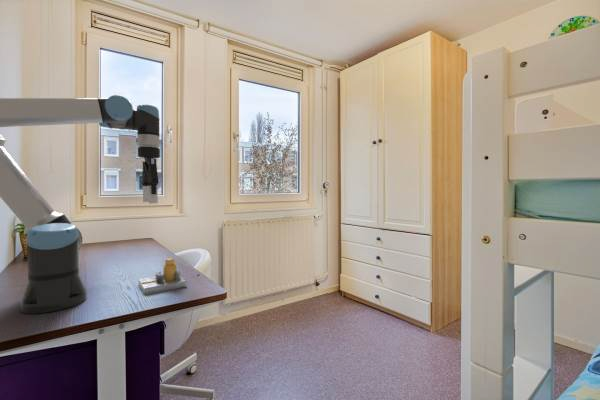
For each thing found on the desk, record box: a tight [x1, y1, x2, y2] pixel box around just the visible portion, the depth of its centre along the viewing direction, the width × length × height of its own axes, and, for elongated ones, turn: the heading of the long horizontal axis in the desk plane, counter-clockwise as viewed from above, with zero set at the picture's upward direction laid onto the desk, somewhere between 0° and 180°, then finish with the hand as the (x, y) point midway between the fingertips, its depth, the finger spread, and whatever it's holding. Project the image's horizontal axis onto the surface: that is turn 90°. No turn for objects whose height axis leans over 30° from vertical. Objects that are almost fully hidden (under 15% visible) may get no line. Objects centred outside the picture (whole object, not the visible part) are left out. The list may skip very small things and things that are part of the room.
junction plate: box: [138, 268, 187, 295], centre depth 103 cm, size 13×12×4 cm
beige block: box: [162, 258, 177, 281], centre depth 105 cm, size 4×4×7 cm
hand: (150, 202), depth 113 cm, fingers open, 13 cm apart
